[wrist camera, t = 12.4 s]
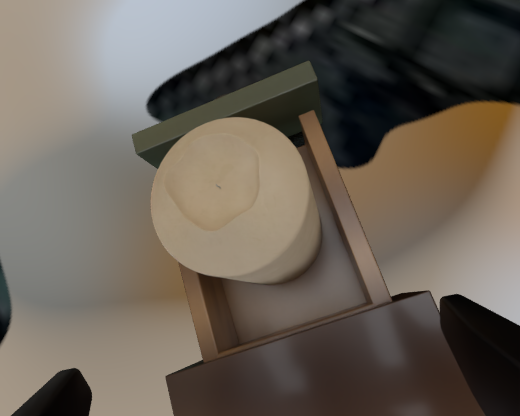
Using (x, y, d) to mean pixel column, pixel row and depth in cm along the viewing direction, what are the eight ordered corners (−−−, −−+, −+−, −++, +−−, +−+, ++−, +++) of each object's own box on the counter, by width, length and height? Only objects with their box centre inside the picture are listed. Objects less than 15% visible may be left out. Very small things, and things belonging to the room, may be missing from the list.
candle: (319, 290, 19) (296, 283, 10) (218, 280, 21) (111, 264, 11) (326, 188, 21) (311, 93, 11) (230, 184, 22) (143, 96, 12)
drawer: (166, 149, 25) (126, 115, 20) (309, 91, 23) (301, 40, 19) (223, 364, 21) (190, 383, 16) (399, 307, 19) (416, 310, 15)
